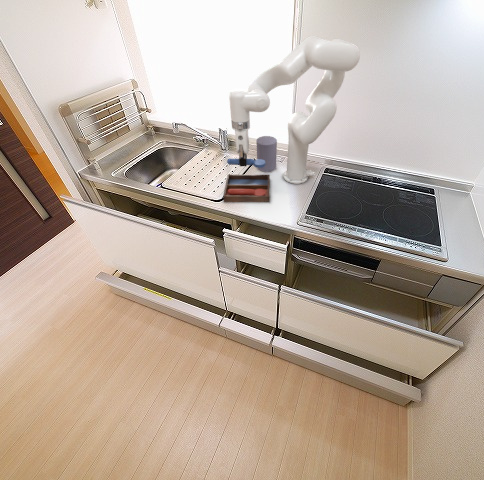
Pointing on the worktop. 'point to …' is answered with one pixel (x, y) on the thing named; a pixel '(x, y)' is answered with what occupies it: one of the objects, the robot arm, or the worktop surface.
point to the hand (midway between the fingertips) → (243, 163)
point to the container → (267, 152)
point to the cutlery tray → (247, 187)
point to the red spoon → (246, 192)
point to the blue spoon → (257, 163)
